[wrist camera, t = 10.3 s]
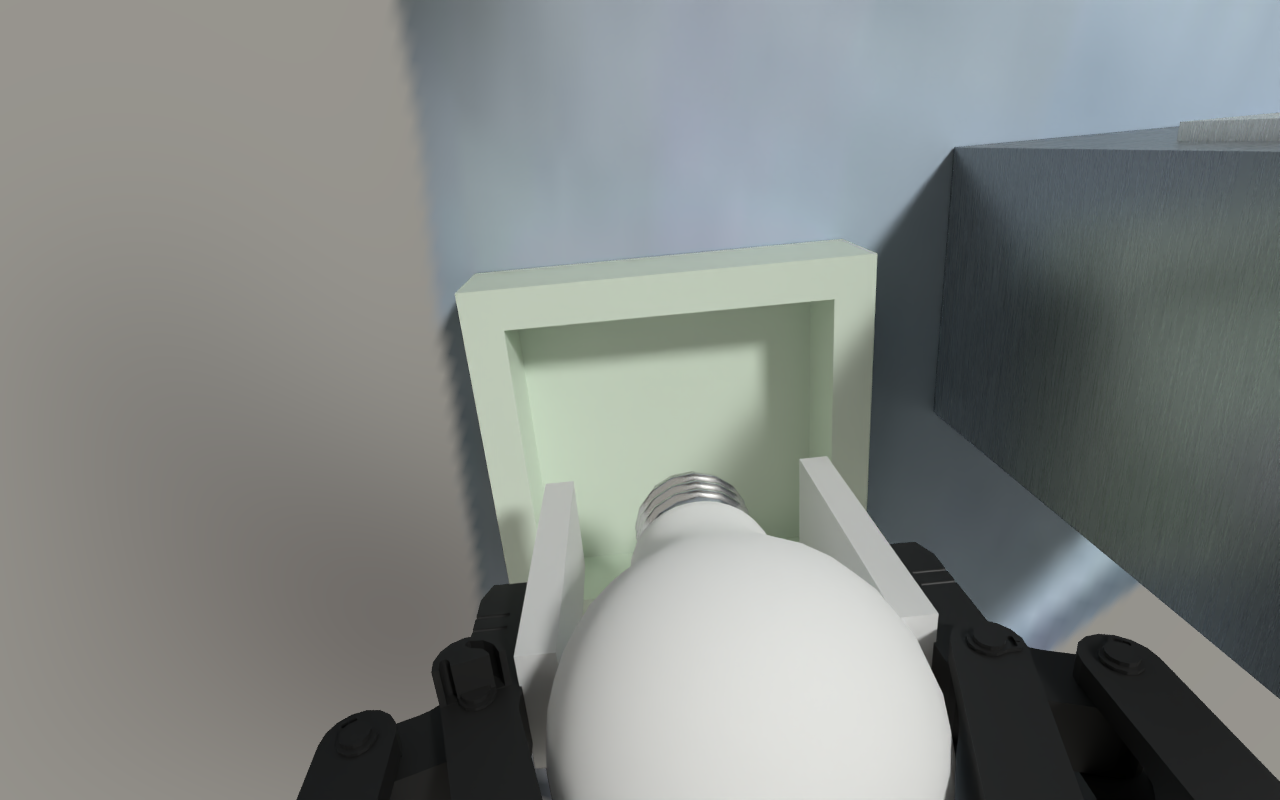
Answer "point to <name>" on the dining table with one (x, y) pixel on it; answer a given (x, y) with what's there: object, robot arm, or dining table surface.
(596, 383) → the tray
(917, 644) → the light bulb
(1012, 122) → the dining table surface
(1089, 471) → the housing
